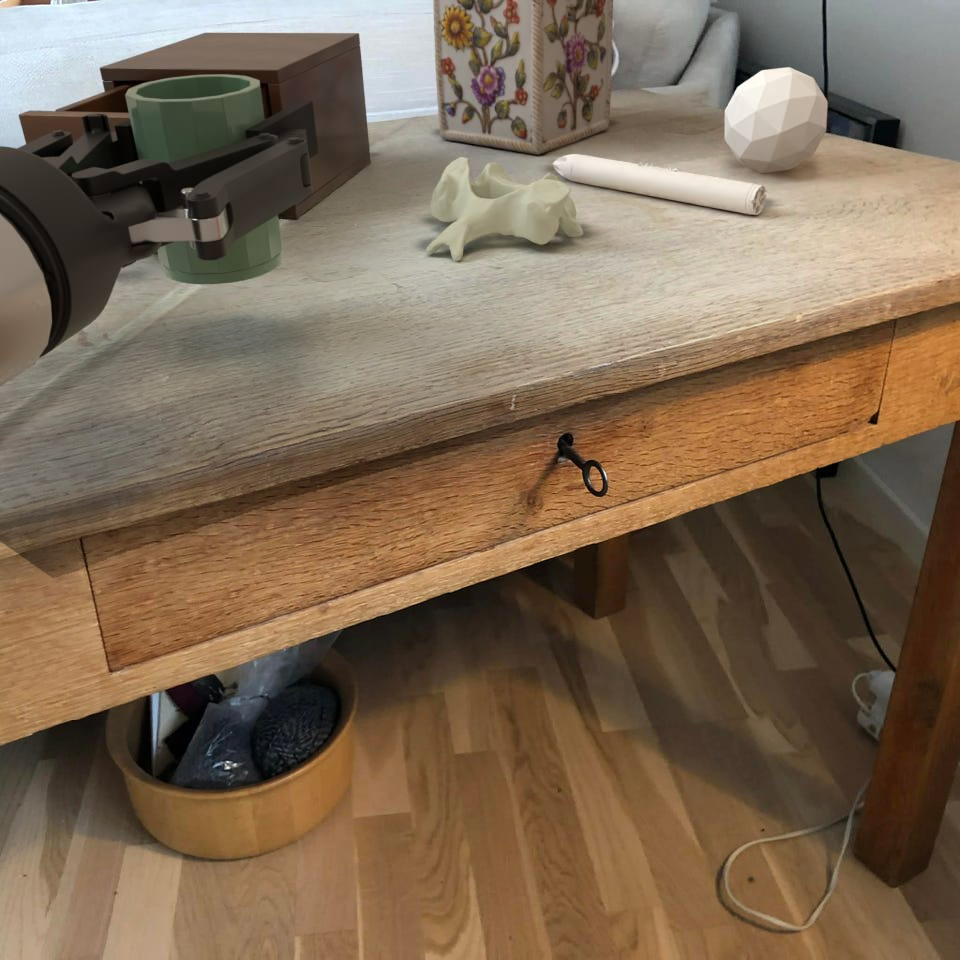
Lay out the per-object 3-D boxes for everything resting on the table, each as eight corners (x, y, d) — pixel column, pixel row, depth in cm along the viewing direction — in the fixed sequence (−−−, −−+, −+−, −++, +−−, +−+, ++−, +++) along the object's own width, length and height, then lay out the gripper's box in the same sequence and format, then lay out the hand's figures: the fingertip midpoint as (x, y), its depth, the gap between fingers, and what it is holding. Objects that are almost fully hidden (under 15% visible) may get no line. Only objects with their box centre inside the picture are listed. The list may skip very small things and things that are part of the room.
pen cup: (138, 281, 53) (99, 99, 48) (199, 239, 58) (169, 72, 53) (251, 289, 51) (221, 103, 46) (303, 246, 57) (281, 75, 52)
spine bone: (381, 264, 71) (366, 200, 67) (471, 199, 76) (462, 137, 72) (517, 310, 64) (508, 241, 61) (606, 235, 69) (602, 169, 66)
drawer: (188, 278, 62) (160, 136, 57) (10, 266, 65) (-29, 130, 60) (310, 189, 77) (295, 72, 73) (162, 183, 80) (140, 70, 76)
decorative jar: (538, 157, 87) (537, -83, 77) (435, 140, 93) (422, -84, 84) (614, 129, 94) (621, -93, 85) (514, 115, 101) (510, -93, 91)
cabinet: (297, 219, 74) (277, 69, 69) (130, 210, 78) (98, 67, 72) (371, 162, 87) (359, 32, 82) (225, 157, 91) (204, 32, 85)
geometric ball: (766, 211, 81) (747, 142, 74) (718, 153, 85) (696, 84, 79) (853, 157, 80) (841, 82, 73) (800, 102, 84) (784, 26, 78)
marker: (544, 180, 81) (544, 149, 80) (560, 174, 82) (560, 144, 81) (750, 219, 71) (754, 185, 70) (764, 211, 72) (768, 178, 71)
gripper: (190, 182, 33) (412, 54, 51) (-289, 160, 37) (77, 49, 56) (228, 391, 37) (421, 201, 55) (-209, 348, 41) (107, 186, 60)
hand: (248, 125), depth 56 cm, fingers closed on pen cup, 6 cm apart
